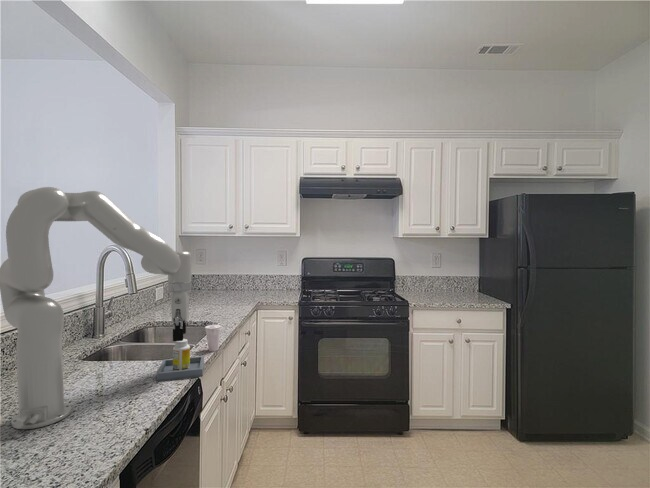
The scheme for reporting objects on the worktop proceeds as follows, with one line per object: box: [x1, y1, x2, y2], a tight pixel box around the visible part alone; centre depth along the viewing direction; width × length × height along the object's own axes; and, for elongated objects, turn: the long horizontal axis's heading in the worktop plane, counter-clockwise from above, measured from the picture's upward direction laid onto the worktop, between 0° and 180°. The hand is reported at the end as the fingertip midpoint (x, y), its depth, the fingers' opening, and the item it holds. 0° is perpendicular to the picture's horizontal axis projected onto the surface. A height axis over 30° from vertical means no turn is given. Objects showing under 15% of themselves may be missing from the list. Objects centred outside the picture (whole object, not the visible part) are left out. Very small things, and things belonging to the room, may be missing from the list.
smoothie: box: [204, 315, 222, 352], centre depth 156 cm, size 6×6×14 cm
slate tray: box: [156, 355, 205, 382], centre depth 133 cm, size 14×14×2 cm
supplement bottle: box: [172, 338, 191, 371], centre depth 132 cm, size 6×6×10 cm
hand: (179, 337), depth 132 cm, fingers open, 9 cm apart
